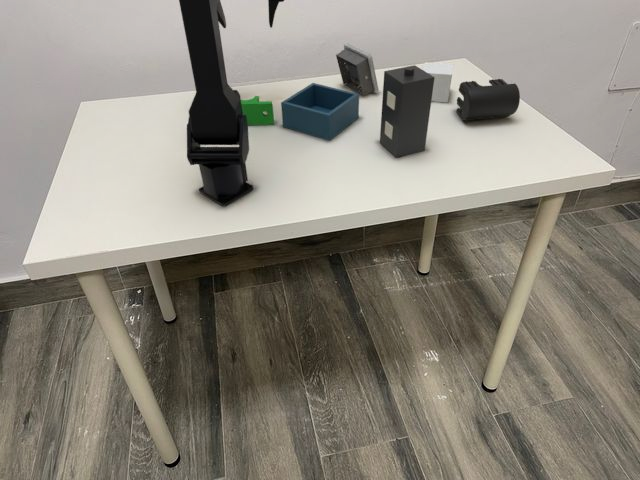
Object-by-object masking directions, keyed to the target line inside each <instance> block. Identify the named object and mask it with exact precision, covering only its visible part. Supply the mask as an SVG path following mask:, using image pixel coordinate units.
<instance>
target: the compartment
mask: <svg viewBox="0 0 640 480" xmlns="http://www.w3.org/2000/svg"><path fill="white" fill-rule="evenodd" d="M280 106H281V107H280V108H281V119H282V127H283V128H286V129H289V130H292V131H297V132H300V133H303V134H306V135H310V136H312V137H316V138H319V139H323V140H325V141H331V140H332V139H333V138H335V137H336V136H337V135H339V134H340V133H342V131H344V130H345V129H347V128H348V127H349V126H350V125H352V124H353V123H354V122H355V121H357V120H358V119H359V116H360V115H359V112H360V109H359V108H360V94H358V93H356V92H354V91H348V90H344V89H342V88H341V89H340V88H336V87H332V86H328V85H324V84H320V83H316V82H312V83H310V84H308V85H307V86H305V87H304V88H301V90H299V91H297V92H296V93H294V94H292V95H290V96H289V97H287V98H286V99H284V100H283V101H281V102H280Z"/></svg>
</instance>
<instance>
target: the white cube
mask: <svg viewBox="0 0 640 480" xmlns="http://www.w3.org/2000/svg"><path fill="white" fill-rule="evenodd" d="M422 70H423V71H425V72H427V73H428V74H430V75H432V76H433V77H435V78H434V85H433V93H432V100H431V102H437V103H438V102H439V103H448V102H449V97H450V90H451V85H452V78H453V72H454V63H440V62H426V61H425V62H424V65H423V69H422Z"/></svg>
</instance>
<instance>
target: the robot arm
mask: <svg viewBox="0 0 640 480" xmlns="http://www.w3.org/2000/svg"><path fill="white" fill-rule="evenodd" d="M178 2H179V7H180V13H181V18H182V24H183V29H184V34H185V40H186V46H187V51H188V55H189V60H190V65H191V71H192V76H193V81H194V87H195V95H194V97H193V99H192V102H191V104H190V106H189V109H188V120H187V124H186V158H187V161H188V163H189V165H190V166H195V165H198V167H199V172H200V177H201V181H202V187H199V188H198V192H199V194H201V195H203V196H205V197H207V198H208V199H210V200H211V201H213V202H215V203H217V204H218V205H220V206H222V207H226V206H227V205H229V204H231V203H232V202H235V201H237V200H238V199H239V198H241V197H243V196H244V195H246V194H248V193H249V192H251V191H253V190H254V185H253V184H251V183H249V182H248V181H249V178H248V171H247V163H246V162H247V158H248V157H249V154H250V153H249V152H250V139H249V125H248V123H247V117H246V115H245V114H243V111H242V105H241V100H242V98H241V97H242V96H241V93H240V92H239V91H238V90H237V89H233V88H232V87H231V86H230V85H229V83H228V77H227V72H226V64H225V63H226V62H225V57H224V51H223V44H222V37H221V31H220V30H221V29H220V25H221V27H222V28H223V29H227V20H226V16H225V13H224V10H223V6H222V2H221V0H178ZM267 2H268V24H269V28H271V29H272V28H273V26H274V19H275V15H276V11H277V9H278V7H279V3H283V2H285V0H267Z"/></svg>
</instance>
